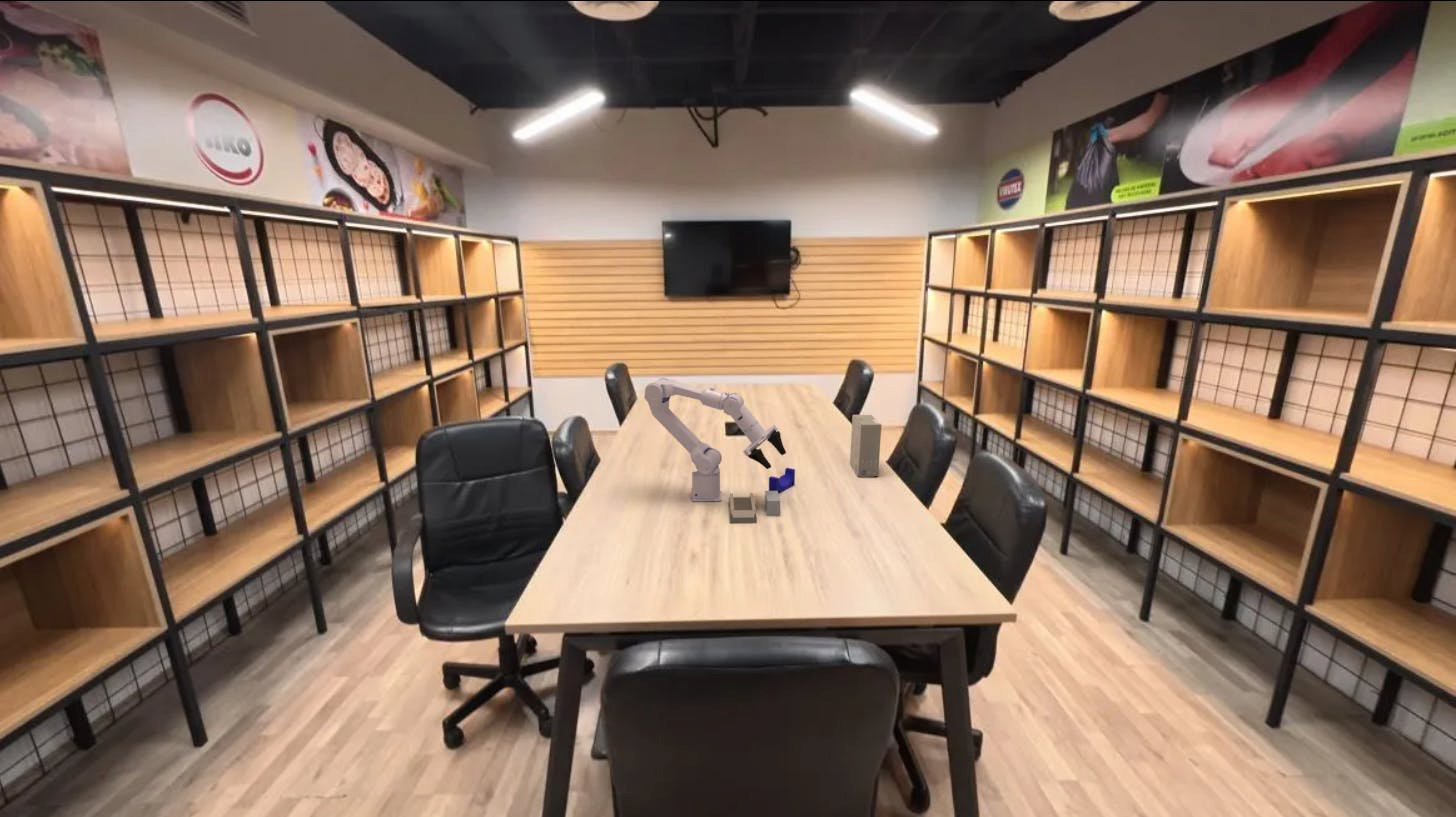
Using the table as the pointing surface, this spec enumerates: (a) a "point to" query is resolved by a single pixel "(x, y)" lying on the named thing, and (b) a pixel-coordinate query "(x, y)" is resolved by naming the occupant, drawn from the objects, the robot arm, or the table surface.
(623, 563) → the table surface
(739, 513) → the grey rectangular tray
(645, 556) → the table surface
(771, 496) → the grey block
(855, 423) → the hard drive box
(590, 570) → the table surface
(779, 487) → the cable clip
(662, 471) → the table surface
